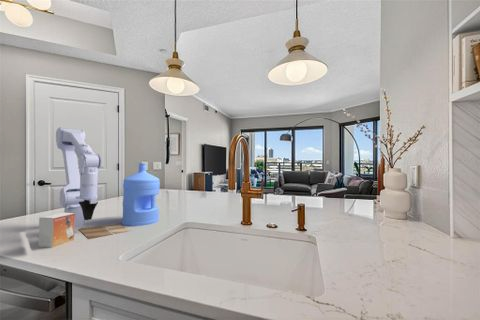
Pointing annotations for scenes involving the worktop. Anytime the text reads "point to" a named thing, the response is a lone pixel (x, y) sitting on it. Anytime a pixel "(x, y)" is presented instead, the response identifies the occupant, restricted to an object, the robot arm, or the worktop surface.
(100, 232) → the walnut plank
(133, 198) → the water jug
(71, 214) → the small box
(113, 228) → the oak floor strip
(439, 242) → the worktop surface
